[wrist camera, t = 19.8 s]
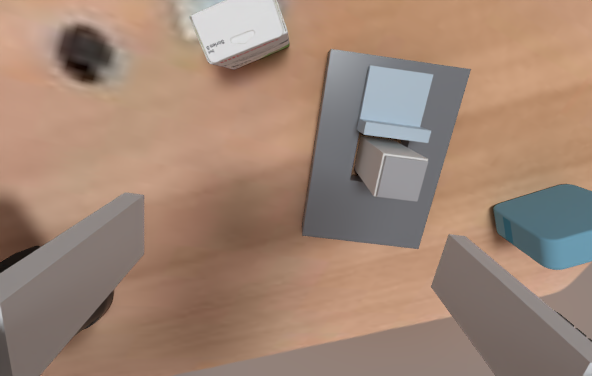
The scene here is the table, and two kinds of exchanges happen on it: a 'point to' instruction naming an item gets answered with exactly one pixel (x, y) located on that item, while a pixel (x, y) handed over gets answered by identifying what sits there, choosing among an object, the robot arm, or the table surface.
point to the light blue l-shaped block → (394, 104)
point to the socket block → (342, 146)
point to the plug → (390, 168)
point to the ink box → (240, 31)
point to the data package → (549, 225)
